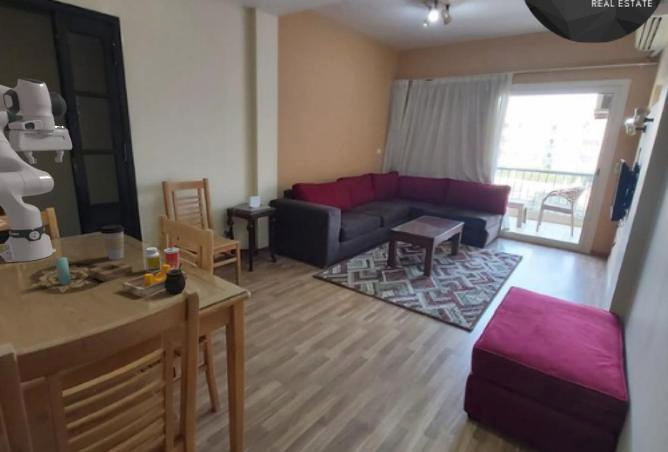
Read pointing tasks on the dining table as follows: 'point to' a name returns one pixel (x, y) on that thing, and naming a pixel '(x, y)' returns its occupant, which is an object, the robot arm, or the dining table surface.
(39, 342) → the dining table surface
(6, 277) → the dining table surface
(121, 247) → the coffee cup
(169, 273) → the mate gourd
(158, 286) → the clamp corral
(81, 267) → the dining table surface
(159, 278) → the pipe clamp
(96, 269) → the socket block
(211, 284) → the dining table surface
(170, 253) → the beverage cup
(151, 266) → the supplement bottle
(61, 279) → the peg
